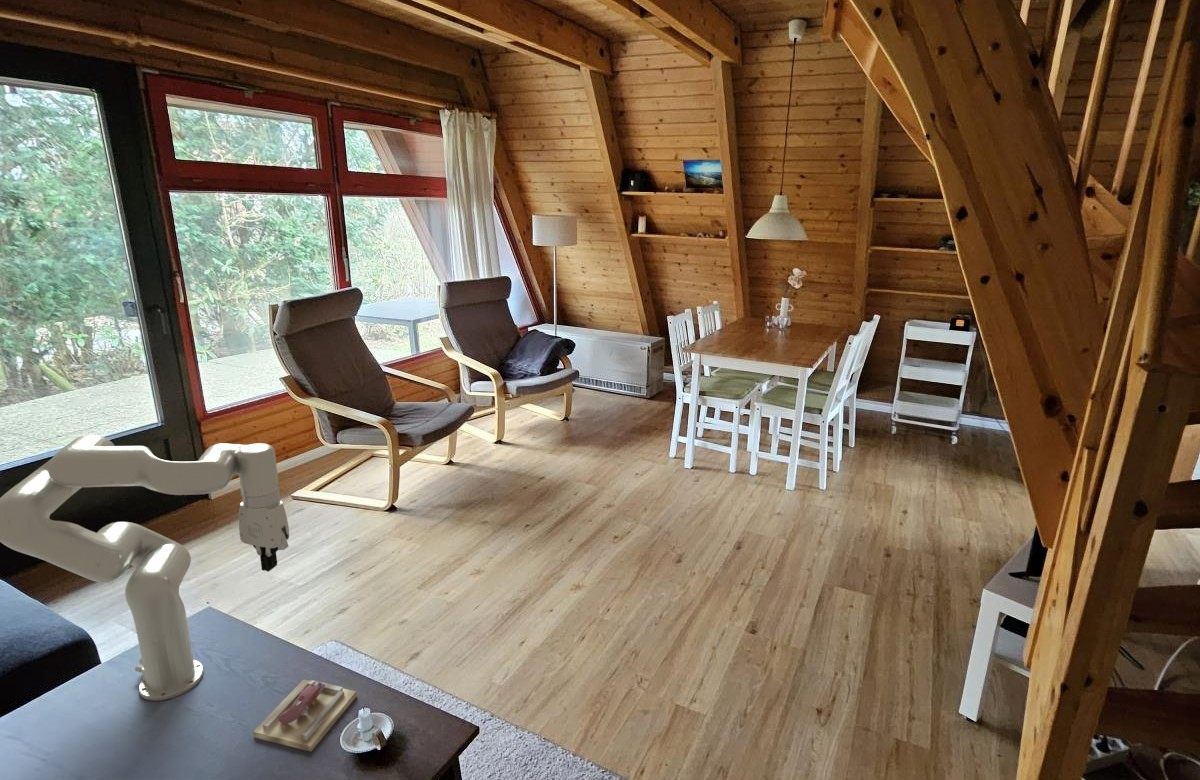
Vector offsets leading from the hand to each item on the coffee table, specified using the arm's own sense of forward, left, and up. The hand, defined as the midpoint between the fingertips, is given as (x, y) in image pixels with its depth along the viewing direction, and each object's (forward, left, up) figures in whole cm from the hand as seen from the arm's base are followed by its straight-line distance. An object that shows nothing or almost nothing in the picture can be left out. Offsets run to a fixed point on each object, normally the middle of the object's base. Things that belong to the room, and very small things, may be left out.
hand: (269, 567), depth 147 cm
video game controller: (+16, -13, -26) cm, 33 cm away
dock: (+17, -12, -27) cm, 34 cm away
